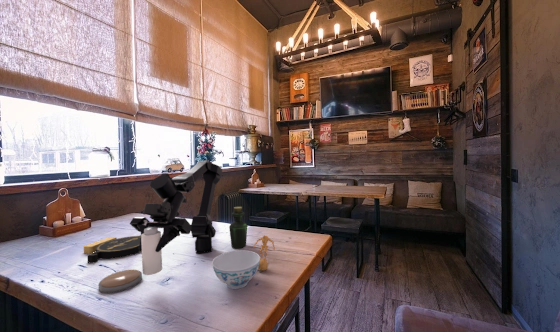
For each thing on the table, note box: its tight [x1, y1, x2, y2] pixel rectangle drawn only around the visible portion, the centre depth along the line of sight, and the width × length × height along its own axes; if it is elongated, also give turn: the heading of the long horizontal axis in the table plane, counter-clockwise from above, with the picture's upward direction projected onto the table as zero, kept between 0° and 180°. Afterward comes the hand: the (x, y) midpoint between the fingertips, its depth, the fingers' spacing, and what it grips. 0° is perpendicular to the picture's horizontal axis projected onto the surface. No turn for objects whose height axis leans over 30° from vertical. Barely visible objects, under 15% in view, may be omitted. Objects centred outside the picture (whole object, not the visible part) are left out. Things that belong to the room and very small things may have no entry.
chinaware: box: [211, 249, 261, 290], centre depth 73 cm, size 15×15×8 cm
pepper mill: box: [140, 227, 163, 276], centre depth 70 cm, size 5×5×13 cm
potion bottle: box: [229, 206, 248, 250], centre depth 105 cm, size 8×8×18 cm
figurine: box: [253, 234, 276, 272], centre depth 83 cm, size 8×6×12 cm
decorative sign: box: [83, 234, 142, 264], centre depth 105 cm, size 29×3×25 cm
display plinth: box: [98, 269, 143, 294], centre depth 75 cm, size 12×12×2 cm
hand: (148, 251), depth 69 cm, fingers closed on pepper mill, 5 cm apart
